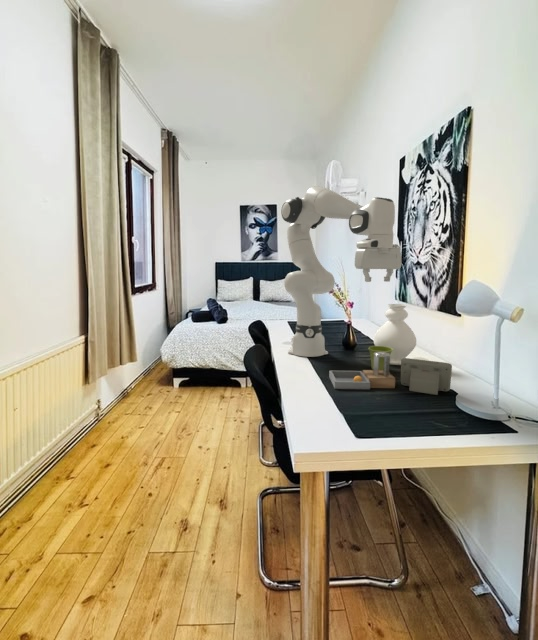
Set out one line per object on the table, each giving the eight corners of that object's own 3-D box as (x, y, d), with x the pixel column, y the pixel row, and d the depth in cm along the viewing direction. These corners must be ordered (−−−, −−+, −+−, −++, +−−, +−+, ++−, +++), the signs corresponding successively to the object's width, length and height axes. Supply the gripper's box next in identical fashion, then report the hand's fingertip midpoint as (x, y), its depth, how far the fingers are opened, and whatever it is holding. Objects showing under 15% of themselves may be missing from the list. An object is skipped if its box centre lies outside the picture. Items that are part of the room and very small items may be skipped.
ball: (353, 376, 137) (361, 378, 136) (352, 384, 135) (360, 386, 135) (354, 373, 134) (363, 375, 134) (353, 382, 133) (362, 383, 132)
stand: (362, 379, 142) (362, 369, 141) (386, 379, 142) (387, 370, 141) (368, 387, 132) (369, 377, 131) (394, 388, 132) (395, 378, 131)
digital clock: (452, 391, 129) (455, 361, 128) (445, 398, 122) (448, 366, 121) (404, 382, 139) (406, 353, 138) (395, 388, 132) (397, 358, 131)
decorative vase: (376, 354, 181) (379, 302, 177) (416, 358, 173) (420, 304, 170) (369, 363, 165) (372, 305, 161) (413, 368, 158) (417, 308, 154)
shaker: (380, 371, 140) (381, 351, 138) (392, 375, 135) (393, 354, 134) (369, 373, 137) (370, 353, 135) (381, 377, 132) (382, 356, 131)
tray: (329, 376, 144) (329, 370, 144) (361, 377, 144) (361, 371, 144) (334, 388, 130) (334, 381, 130) (369, 389, 130) (370, 382, 130)
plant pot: (392, 373, 150) (393, 351, 149) (367, 371, 152) (369, 350, 151) (390, 367, 159) (391, 346, 158) (366, 365, 161) (367, 345, 160)
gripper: (394, 244, 146) (391, 280, 149) (352, 242, 137) (350, 281, 139) (407, 244, 141) (404, 281, 143) (365, 242, 131) (362, 282, 133)
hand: (377, 281), depth 141 cm, fingers open, 8 cm apart
